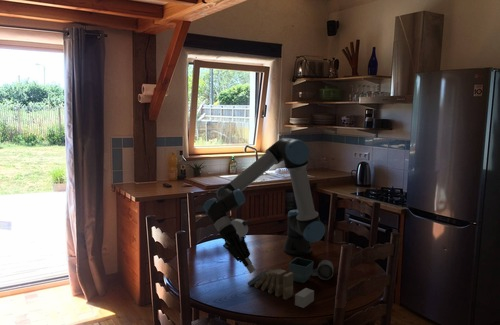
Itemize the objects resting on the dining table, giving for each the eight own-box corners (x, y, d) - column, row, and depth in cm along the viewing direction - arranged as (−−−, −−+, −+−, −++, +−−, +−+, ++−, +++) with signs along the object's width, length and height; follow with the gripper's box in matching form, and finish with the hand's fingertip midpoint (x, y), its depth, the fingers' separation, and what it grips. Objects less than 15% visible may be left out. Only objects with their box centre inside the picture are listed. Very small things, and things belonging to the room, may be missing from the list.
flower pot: (305, 286, 182) (306, 267, 181) (288, 281, 187) (288, 262, 185) (313, 279, 189) (314, 260, 188) (296, 275, 194) (296, 257, 193)
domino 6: (282, 298, 170) (283, 275, 169) (289, 294, 174) (290, 272, 173) (286, 299, 169) (286, 276, 168) (292, 295, 173) (293, 273, 172)
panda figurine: (252, 243, 238) (252, 218, 236) (241, 249, 228) (241, 223, 226) (234, 240, 244) (234, 215, 242) (223, 245, 234) (224, 220, 232)
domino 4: (267, 291, 175) (273, 272, 172) (274, 288, 179) (280, 268, 176) (270, 294, 174) (276, 274, 171) (277, 290, 178) (283, 270, 175)
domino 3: (260, 288, 177) (269, 272, 173) (267, 284, 181) (276, 268, 177) (263, 291, 177) (272, 274, 172) (270, 287, 180) (279, 271, 176)
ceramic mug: (333, 273, 196) (333, 258, 195) (333, 280, 188) (333, 264, 187) (311, 272, 198) (311, 256, 197) (310, 278, 190) (310, 263, 190)
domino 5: (275, 295, 173) (276, 273, 171) (281, 291, 176) (283, 269, 175) (278, 296, 172) (279, 274, 170) (284, 292, 175) (286, 270, 174)
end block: (294, 304, 165) (295, 294, 164) (305, 298, 171) (305, 287, 170) (303, 308, 162) (303, 297, 162) (313, 300, 168) (314, 290, 168)
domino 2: (253, 285, 180) (265, 272, 175) (260, 282, 183) (272, 269, 179) (256, 288, 179) (268, 275, 174) (262, 284, 183) (274, 272, 178)
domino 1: (247, 282, 182) (260, 272, 176) (254, 279, 186) (267, 269, 180) (249, 286, 181) (262, 276, 176) (255, 282, 185) (269, 272, 180)
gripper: (230, 229, 198) (257, 271, 189) (211, 235, 188) (238, 280, 179) (238, 220, 194) (266, 263, 185) (220, 226, 184) (248, 271, 175)
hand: (252, 271), depth 182 cm, fingers closed
